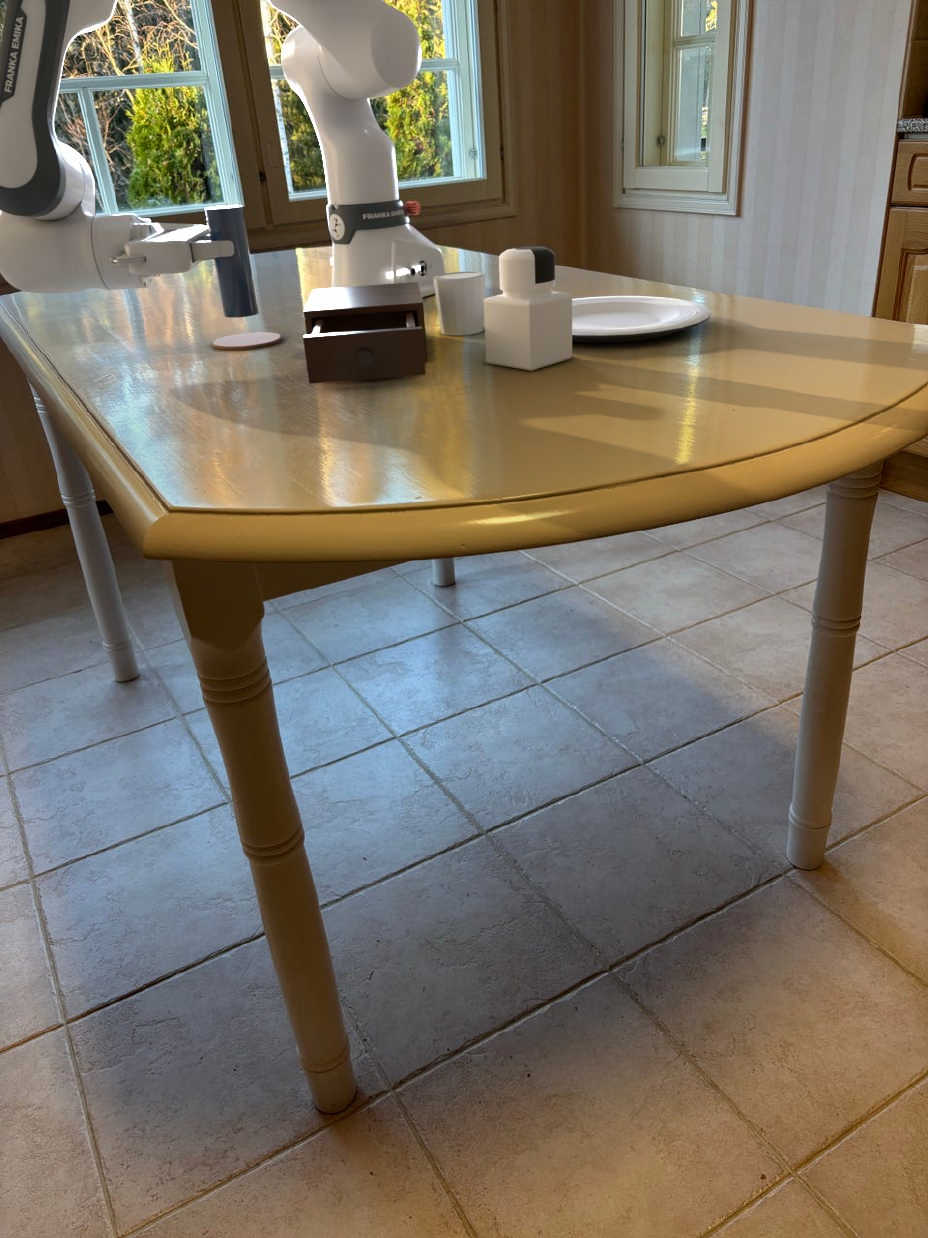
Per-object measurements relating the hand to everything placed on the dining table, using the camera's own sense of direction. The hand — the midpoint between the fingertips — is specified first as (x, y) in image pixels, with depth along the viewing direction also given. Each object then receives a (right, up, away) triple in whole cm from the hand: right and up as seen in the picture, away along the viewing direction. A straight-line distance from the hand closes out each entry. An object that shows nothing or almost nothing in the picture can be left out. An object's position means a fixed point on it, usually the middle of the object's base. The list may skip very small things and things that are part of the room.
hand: (237, 244), depth 115 cm
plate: (+48, -11, +1) cm, 49 cm away
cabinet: (+17, -15, -3) cm, 23 cm away
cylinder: (0, -8, +4) cm, 9 cm away
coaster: (0, -11, +6) cm, 12 cm away
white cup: (+29, -10, +4) cm, 31 cm away
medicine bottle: (+37, -19, -13) cm, 43 cm away
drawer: (+18, -19, -14) cm, 30 cm away
